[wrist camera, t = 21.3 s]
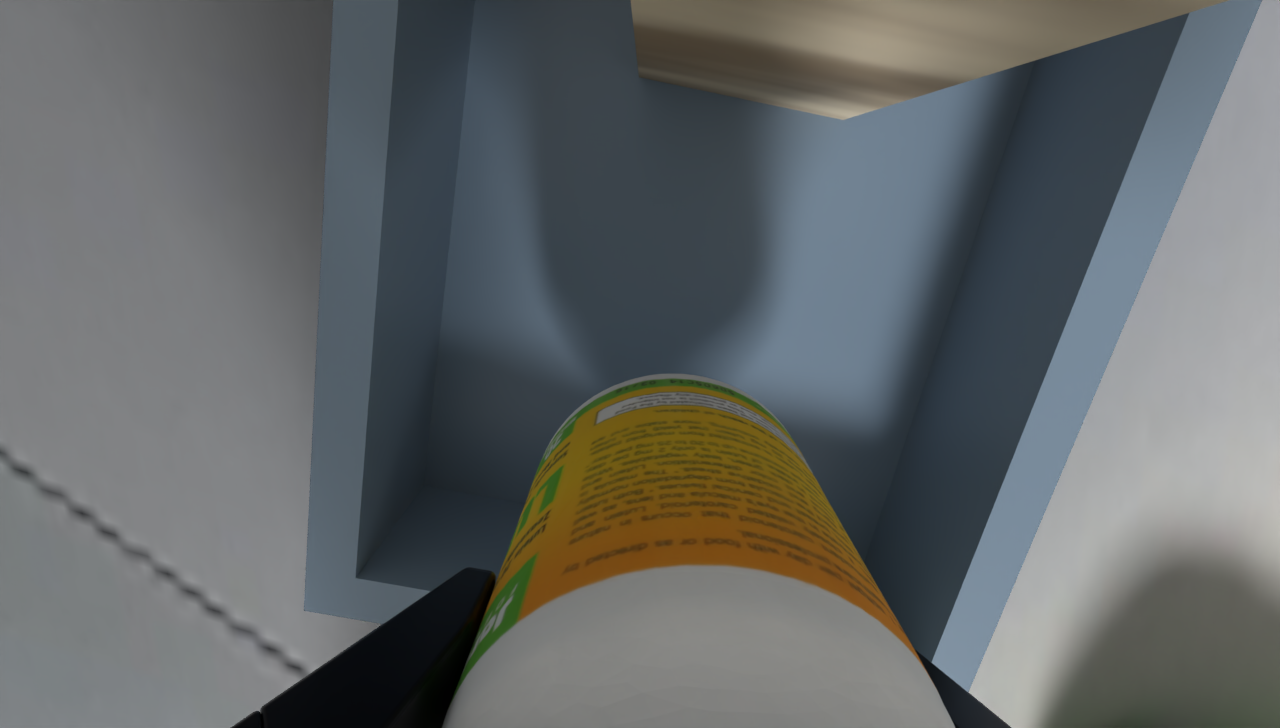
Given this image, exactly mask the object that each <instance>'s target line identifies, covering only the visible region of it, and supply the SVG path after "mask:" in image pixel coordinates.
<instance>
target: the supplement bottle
mask: <svg viewBox="0 0 1280 728" xmlns="http://www.w3.org/2000/svg"><path fill="white" fill-rule="evenodd" d="M442 728H955V726H954V724H953V722H952V719H951V718H950V716H949V714H948V712H947V710H946V708H945V706H944V704H943V702H942V700H941V697H940V695H939V693H938V691H937V689H936V687H935V685H934V683H933V682H932V680H931V678H930V676H929V674H928V673H927V671H926V669H925V667H924V666H923V664H922V662H921V660H920V658H919V657H918V655H917V653H916V651H915V649H914V648H913V646H912V644H911V642H910V641H909V639H908V637H907V636H906V634H905V632H904V631H903V629H902V627H901V626H900V624H899V622H898V620H897V619H896V617H895V615H894V614H893V612H892V610H891V609H890V607H889V605H888V603H887V602H886V600H885V598H884V596H883V595H882V593H881V591H880V590H879V588H878V586H877V585H876V583H875V581H874V579H873V578H872V576H871V574H870V573H869V571H868V569H867V567H866V566H865V564H864V562H863V560H862V559H861V557H860V555H859V553H858V552H857V550H856V548H855V547H854V545H853V543H852V541H851V540H850V538H849V536H848V535H847V533H846V531H845V529H844V528H843V526H842V524H841V522H840V521H839V519H838V517H837V515H836V514H835V512H834V510H833V508H832V506H831V505H830V503H829V501H828V500H827V498H826V496H825V494H824V492H823V491H822V489H821V487H820V485H819V483H818V482H817V480H816V478H815V477H814V475H813V473H812V471H811V469H810V468H809V466H808V464H807V462H806V460H805V458H804V457H803V455H802V453H801V451H800V450H799V448H798V447H797V445H796V443H795V442H794V440H793V439H792V437H791V436H790V434H789V433H788V432H787V430H786V429H785V427H784V426H783V425H782V423H781V422H780V421H779V420H778V419H777V417H776V416H775V415H774V414H773V413H772V412H771V411H770V410H768V409H767V408H766V407H765V406H764V405H763V404H761V403H760V402H759V401H757V400H756V399H754V398H753V397H752V396H750V395H748V394H747V393H745V392H743V391H741V390H739V389H737V388H735V387H733V386H731V385H728V384H726V383H723V382H720V381H717V380H714V379H710V378H706V377H701V376H696V375H689V374H655V375H648V376H643V377H639V378H635V379H631V380H628V381H625V382H622V383H620V384H617V385H614V386H612V387H610V388H608V389H606V390H604V391H602V392H600V393H598V394H597V395H595V396H593V397H592V398H591V399H589V400H588V401H586V402H585V403H584V404H582V405H581V406H580V407H579V408H578V409H576V410H575V411H574V412H573V413H572V414H571V415H570V416H569V417H568V418H567V419H566V421H565V422H564V423H563V424H562V425H561V427H560V428H559V429H558V430H557V432H556V433H555V435H554V437H553V438H552V440H551V441H550V443H549V445H548V447H547V449H546V451H545V453H544V455H543V458H542V460H541V462H540V464H539V466H538V469H537V472H536V474H535V477H534V480H533V483H532V486H531V489H530V492H529V494H528V497H527V500H526V503H525V505H524V508H523V511H522V513H521V516H520V519H519V522H518V525H517V527H516V530H515V533H514V535H513V538H512V540H511V543H510V546H509V548H508V551H507V554H506V557H505V560H504V562H503V565H502V568H501V570H500V573H499V576H498V579H497V581H496V584H495V586H494V589H493V592H492V594H491V597H490V600H489V602H488V605H487V607H486V610H485V613H484V615H483V618H482V621H481V624H480V626H479V629H478V632H477V634H476V637H475V640H474V642H473V645H472V648H471V650H470V653H469V656H468V658H467V661H466V664H465V666H464V669H463V672H462V674H461V677H460V680H459V682H458V685H457V687H456V690H455V692H454V695H453V697H452V700H451V702H450V705H449V707H448V710H447V713H446V716H445V719H444V722H443V726H442Z"/></svg>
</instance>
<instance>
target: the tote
mask: <svg viewBox="0 0 1280 728" xmlns="http://www.w3.org/2000/svg"><path fill="white" fill-rule="evenodd" d="M1261 2H1262V0H1228V1H1225V2H1222V3H1219V4H1216V5H1212V6H1209V7H1206V8H1203V9H1199V10H1196V11H1193V12H1190V13H1187V14H1183V15H1180V16H1177V17H1174V18H1170V19H1167V20H1164V21H1161V22H1158V23H1154V24H1151V25H1148V26H1145V27H1141V28H1138V29H1135V30H1132V31H1129V32H1125V33H1122V34H1119V35H1116V36H1112V37H1109V38H1106V39H1103V40H1099V41H1096V42H1093V43H1090V44H1087V45H1083V46H1080V47H1077V48H1074V49H1070V50H1067V51H1064V52H1061V53H1058V54H1054V55H1051V56H1048V57H1045V58H1041V59H1038V60H1035V61H1032V62H1029V63H1025V64H1022V65H1019V66H1016V67H1012V68H1009V69H1006V70H1003V71H1000V72H996V73H993V74H990V75H987V76H983V77H980V78H977V79H974V80H970V81H967V82H964V83H961V84H958V85H954V86H951V87H948V88H945V89H941V90H938V91H935V92H932V93H929V94H925V95H922V96H919V97H916V98H912V99H909V100H906V101H903V102H900V103H896V104H893V105H890V106H887V107H883V108H880V109H877V110H874V111H871V112H867V113H864V114H861V115H858V116H854V117H851V118H848V119H845V120H841V119H836V118H831V117H827V116H822V115H817V114H812V113H808V112H803V111H798V110H793V109H788V108H784V107H779V106H774V105H769V104H764V103H760V102H755V101H750V100H745V99H741V98H736V97H731V96H726V95H721V94H717V93H712V92H707V91H702V90H698V89H693V88H688V87H683V86H678V85H674V84H669V83H664V82H659V81H655V80H650V79H645V78H640V77H639V73H638V64H637V55H636V46H635V37H634V27H633V18H632V9H631V0H333V17H332V38H331V59H330V80H329V101H328V121H327V142H326V163H325V184H324V205H323V225H322V246H321V267H320V288H319V309H318V329H317V350H316V371H315V392H314V413H313V433H312V454H311V475H310V496H309V517H308V537H307V558H306V579H305V600H304V611H309V612H315V613H321V614H327V615H332V616H338V617H344V618H350V619H356V620H362V621H368V622H373V623H379V624H384V623H385V622H387V621H388V620H390V619H391V618H392V617H394V616H395V615H397V614H398V613H400V612H401V611H403V610H404V609H406V608H407V607H409V606H410V605H412V604H413V603H414V602H416V601H417V600H419V599H420V598H422V597H423V596H425V595H426V594H428V593H429V592H431V591H432V590H433V589H435V588H436V587H438V586H439V585H441V584H442V583H444V582H445V581H447V580H448V579H450V578H451V577H452V576H454V575H455V574H457V573H458V572H460V571H461V570H463V569H464V568H467V567H473V568H478V569H484V570H489V571H493V572H494V573H495V575H496V581H497V579H498V576H499V573H500V570H501V568H502V565H503V562H504V560H505V557H506V554H507V551H508V548H509V546H510V543H511V540H512V538H513V535H514V533H515V530H516V527H517V525H518V522H519V519H520V516H521V513H522V511H523V508H524V505H525V503H526V500H527V497H528V494H529V492H530V489H531V486H532V483H533V480H534V477H535V474H536V472H537V469H538V466H539V464H540V462H541V460H542V458H543V455H544V453H545V451H546V449H547V447H548V445H549V443H550V441H551V440H552V438H553V437H554V435H555V433H556V432H557V430H558V429H559V428H560V427H561V425H562V424H563V423H564V422H565V421H566V419H567V418H568V417H569V416H570V415H571V414H572V413H573V412H574V411H575V410H576V409H578V408H579V407H580V406H581V405H582V404H584V403H585V402H586V401H588V400H589V399H591V398H592V397H593V396H595V395H597V394H598V393H600V392H602V391H604V390H606V389H608V388H610V387H612V386H614V385H617V384H620V383H622V382H625V381H628V380H631V379H635V378H639V377H643V376H648V375H655V374H689V375H696V376H701V377H706V378H710V379H714V380H717V381H720V382H723V383H726V384H728V385H731V386H733V387H735V388H737V389H739V390H741V391H743V392H745V393H747V394H748V395H750V396H752V397H753V398H754V399H756V400H757V401H759V402H760V403H761V404H763V405H764V406H765V407H766V408H767V409H768V410H770V411H771V412H772V413H773V414H774V415H775V416H776V417H777V419H778V420H779V421H780V422H781V423H782V425H783V426H784V427H785V429H786V430H787V432H788V433H789V434H790V436H791V437H792V439H793V440H794V442H795V443H796V445H797V447H798V448H799V450H800V451H801V453H802V455H803V457H804V458H805V460H806V462H807V464H808V466H809V468H810V469H811V471H812V473H813V475H814V477H815V478H816V480H817V482H818V483H819V485H820V487H821V489H822V491H823V492H824V494H825V496H826V498H827V500H828V501H829V503H830V505H831V506H832V508H833V510H834V512H835V514H836V515H837V517H838V519H839V521H840V522H841V524H842V526H843V528H844V529H845V531H846V533H847V535H848V536H849V538H850V540H851V541H852V543H853V545H854V547H855V548H856V550H857V552H858V553H859V555H860V557H861V559H862V560H863V562H864V564H865V566H866V567H867V569H868V571H869V573H870V574H871V576H872V578H873V579H874V581H875V583H876V585H877V586H878V588H879V590H880V591H881V593H882V595H883V596H884V598H885V600H886V602H887V603H888V605H889V607H890V609H891V610H892V612H893V614H894V615H895V617H896V619H897V620H898V622H899V624H900V626H901V627H902V629H903V631H904V632H905V634H906V636H907V637H908V639H909V641H910V642H911V644H912V646H913V648H914V649H916V650H917V651H918V652H919V653H920V654H922V655H923V656H924V657H925V658H927V659H928V660H929V661H930V662H931V663H933V664H934V665H935V666H936V667H938V668H939V669H940V670H941V671H943V672H944V673H945V674H946V675H947V676H949V677H950V678H951V679H952V680H954V681H955V682H956V683H957V684H958V685H960V686H961V687H962V688H963V689H965V690H966V691H967V692H969V689H970V687H971V685H972V682H973V680H974V678H975V675H976V673H977V671H978V668H979V666H980V664H981V661H982V659H983V657H984V654H985V652H986V649H987V647H988V645H989V642H990V640H991V638H992V635H993V633H994V631H995V628H996V626H997V624H998V621H999V619H1000V616H1001V614H1002V612H1003V609H1004V607H1005V605H1006V602H1007V600H1008V598H1009V595H1010V593H1011V591H1012V588H1013V586H1014V584H1015V581H1016V579H1017V576H1018V574H1019V572H1020V569H1021V567H1022V565H1023V562H1024V560H1025V558H1026V555H1027V553H1028V551H1029V548H1030V546H1031V543H1032V541H1033V539H1034V536H1035V534H1036V532H1037V529H1038V527H1039V525H1040V522H1041V520H1042V518H1043V515H1044V513H1045V510H1046V508H1047V506H1048V503H1049V501H1050V499H1051V496H1052V494H1053V492H1054V489H1055V487H1056V485H1057V482H1058V480H1059V478H1060V475H1061V473H1062V470H1063V468H1064V466H1065V463H1066V461H1067V459H1068V456H1069V454H1070V452H1071V449H1072V447H1073V445H1074V442H1075V440H1076V437H1077V435H1078V433H1079V430H1080V428H1081V426H1082V423H1083V421H1084V419H1085V416H1086V414H1087V412H1088V409H1089V407H1090V405H1091V402H1092V400H1093V397H1094V395H1095V393H1096V390H1097V388H1098V386H1099V383H1100V381H1101V379H1102V376H1103V374H1104V372H1105V369H1106V367H1107V364H1108V362H1109V360H1110V357H1111V355H1112V353H1113V350H1114V348H1115V346H1116V343H1117V341H1118V339H1119V336H1120V334H1121V331H1122V329H1123V327H1124V324H1125V322H1126V320H1127V317H1128V315H1129V313H1130V310H1131V308H1132V306H1133V303H1134V301H1135V299H1136V296H1137V294H1138V291H1139V289H1140V287H1141V284H1142V282H1143V280H1144V277H1145V275H1146V273H1147V270H1148V268H1149V266H1150V263H1151V261H1152V258H1153V256H1154V254H1155V251H1156V249H1157V247H1158V244H1159V242H1160V240H1161V237H1162V235H1163V233H1164V230H1165V228H1166V226H1167V223H1168V221H1169V218H1170V216H1171V214H1172V211H1173V209H1174V207H1175V204H1176V202H1177V200H1178V197H1179V195H1180V193H1181V190H1182V188H1183V185H1184V183H1185V181H1186V178H1187V176H1188V174H1189V171H1190V169H1191V167H1192V164H1193V162H1194V160H1195V157H1196V155H1197V152H1198V150H1199V148H1200V145H1201V143H1202V141H1203V138H1204V136H1205V134H1206V131H1207V129H1208V127H1209V124H1210V122H1211V120H1212V117H1213V115H1214V112H1215V110H1216V108H1217V105H1218V103H1219V101H1220V98H1221V96H1222V94H1223V91H1224V89H1225V87H1226V84H1227V82H1228V79H1229V77H1230V75H1231V72H1232V70H1233V68H1234V65H1235V63H1236V61H1237V58H1238V56H1239V54H1240V51H1241V49H1242V47H1243V44H1244V42H1245V39H1246V37H1247V35H1248V32H1249V30H1250V28H1251V25H1252V23H1253V21H1254V18H1255V16H1256V14H1257V11H1258V9H1259V6H1260V4H1261ZM496 581H495V584H496Z"/></svg>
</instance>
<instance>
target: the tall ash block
mask: <svg viewBox="0 0 1280 728" xmlns="http://www.w3.org/2000/svg"><path fill="white" fill-rule="evenodd" d="M1225 1H1228V0H631V9H632V18H633V27H634V37H635V46H636V55H637V64H638V73H639V77H640V78H645V79H650V80H655V81H659V82H664V83H669V84H674V85H678V86H683V87H688V88H693V89H698V90H702V91H707V92H712V93H717V94H721V95H726V96H731V97H736V98H741V99H745V100H750V101H755V102H760V103H764V104H769V105H774V106H779V107H784V108H788V109H793V110H798V111H803V112H808V113H812V114H817V115H822V116H827V117H831V118H836V119H841V120H845V119H848V118H851V117H854V116H858V115H861V114H864V113H867V112H871V111H874V110H877V109H880V108H883V107H887V106H890V105H893V104H896V103H900V102H903V101H906V100H909V99H912V98H916V97H919V96H922V95H925V94H929V93H932V92H935V91H938V90H941V89H945V88H948V87H951V86H954V85H958V84H961V83H964V82H967V81H970V80H974V79H977V78H980V77H983V76H987V75H990V74H993V73H996V72H1000V71H1003V70H1006V69H1009V68H1012V67H1016V66H1019V65H1022V64H1025V63H1029V62H1032V61H1035V60H1038V59H1041V58H1045V57H1048V56H1051V55H1054V54H1058V53H1061V52H1064V51H1067V50H1070V49H1074V48H1077V47H1080V46H1083V45H1087V44H1090V43H1093V42H1096V41H1099V40H1103V39H1106V38H1109V37H1112V36H1116V35H1119V34H1122V33H1125V32H1129V31H1132V30H1135V29H1138V28H1141V27H1145V26H1148V25H1151V24H1154V23H1158V22H1161V21H1164V20H1167V19H1170V18H1174V17H1177V16H1180V15H1183V14H1187V13H1190V12H1193V11H1196V10H1199V9H1203V8H1206V7H1209V6H1212V5H1216V4H1219V3H1222V2H1225Z"/></svg>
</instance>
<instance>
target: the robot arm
mask: <svg viewBox="0 0 1280 728" xmlns="http://www.w3.org/2000/svg"><path fill="white" fill-rule="evenodd" d="M495 581H496V575H495V573H494V572H493V571H489V570H484V569H478V568H473V567H467V568H464V569H463V570H461V571H460V572H458V573H457V574H455V575H454V576H452V577H451V578H450V579H448V580H447V581H445V582H444V583H442V584H441V585H439V586H438V587H436V588H435V589H433V590H432V591H431V592H429V593H428V594H426V595H425V596H423V597H422V598H420V599H419V600H417V601H416V602H414V603H413V604H412V605H410V606H409V607H407V608H406V609H404V610H403V611H401V612H400V613H398V614H397V615H395V616H394V617H392V618H391V619H390V620H388V621H387V622H385V623H384V624H382V625H381V626H379V627H378V628H376V629H375V630H373V631H372V632H371V633H369V634H368V635H366V636H365V637H363V638H362V639H360V640H359V641H357V642H356V643H354V644H353V645H351V646H350V647H349V648H347V649H346V650H344V651H343V652H341V653H340V654H338V655H337V656H335V657H334V658H332V659H331V660H330V661H328V662H327V663H325V664H324V665H322V666H321V667H319V668H318V669H316V670H315V671H313V672H312V673H311V674H309V675H308V676H306V677H305V678H303V679H302V680H300V681H299V682H297V683H296V684H294V685H293V686H291V687H290V688H289V689H287V690H286V691H284V692H283V693H281V694H280V695H278V696H277V697H275V698H274V699H272V700H271V701H270V702H268V703H267V704H265V705H264V706H262V708H261V710H260V712H259V711H255V712H253V713H252V714H250V715H249V716H247V717H246V718H244V719H243V720H241V721H240V722H238V723H237V724H235V725H234V726H232V727H231V728H442V726H443V722H444V719H445V716H446V713H447V710H448V707H449V705H450V702H451V700H452V697H453V695H454V692H455V690H456V687H457V685H458V682H459V680H460V677H461V674H462V672H463V669H464V666H465V664H466V661H467V658H468V656H469V653H470V650H471V648H472V645H473V642H474V640H475V637H476V634H477V632H478V629H479V626H480V624H481V621H482V618H483V615H484V613H485V610H486V607H487V605H488V602H489V600H490V597H491V594H492V592H493V589H494V586H495ZM915 651H916V653H917V655H918V657H919V658H920V660H921V662H922V664H923V666H924V667H925V669H926V671H927V673H928V674H929V676H930V678H931V680H932V682H933V683H934V685H935V687H936V689H937V691H938V693H939V695H940V697H941V700H942V702H943V704H944V706H945V708H946V710H947V712H948V714H949V716H950V718H951V719H952V722H953V724H954V726H955V728H1011V727H1010V726H1009V725H1008V724H1006V723H1005V722H1004V721H1003V720H1001V719H1000V718H999V717H998V716H996V715H995V714H994V713H993V712H992V711H990V710H989V709H988V708H987V707H985V706H984V705H983V704H982V703H981V702H979V701H978V700H977V699H976V698H974V697H973V696H972V695H971V694H970V693H968V692H967V691H966V690H965V689H963V688H962V687H961V686H960V685H958V684H957V683H956V682H955V681H954V680H952V679H951V678H950V677H949V676H947V675H946V674H945V673H944V672H943V671H941V670H940V669H939V668H938V667H936V666H935V665H934V664H933V663H931V662H930V661H929V660H928V659H927V658H925V657H924V656H923V655H922V654H920V653H919V652H918V651H917V650H916V649H915Z"/></svg>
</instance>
